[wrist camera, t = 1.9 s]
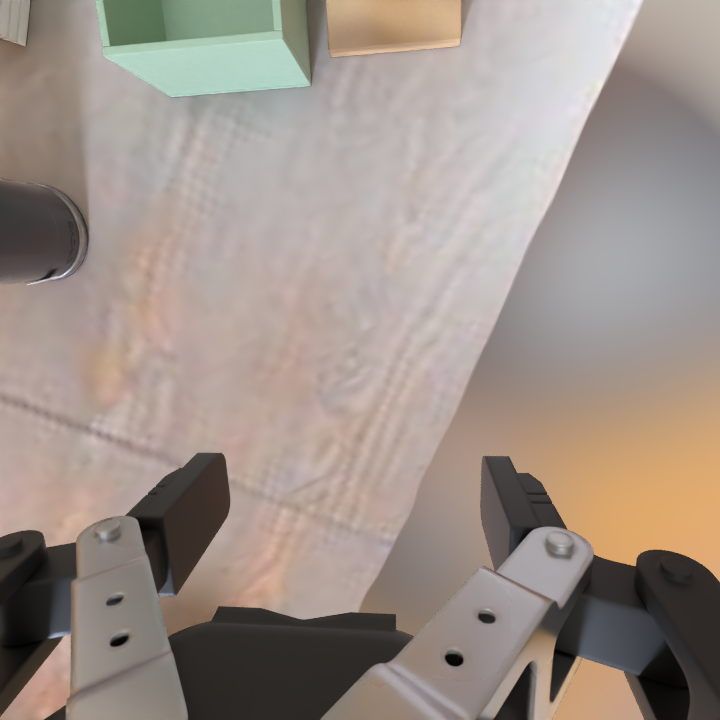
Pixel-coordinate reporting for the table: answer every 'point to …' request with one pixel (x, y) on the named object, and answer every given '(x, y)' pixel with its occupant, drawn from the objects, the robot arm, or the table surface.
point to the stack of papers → (14, 20)
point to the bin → (208, 43)
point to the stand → (391, 25)
